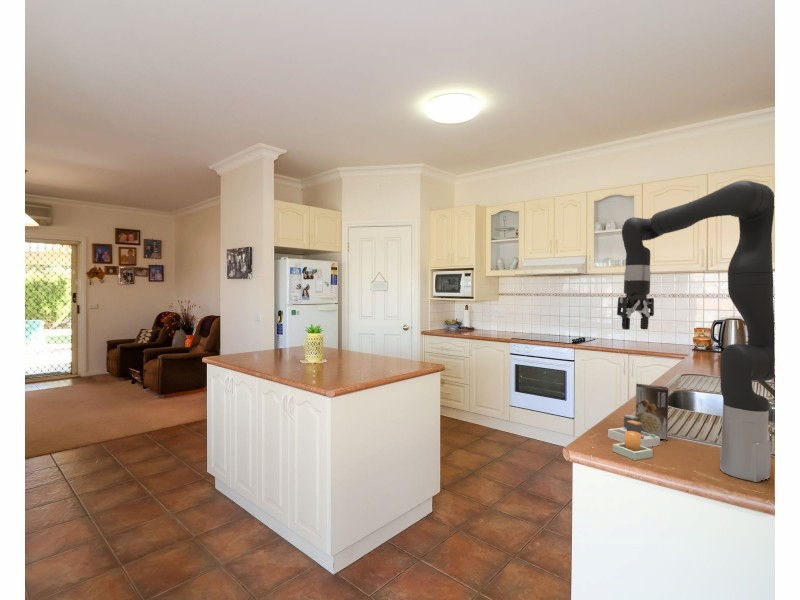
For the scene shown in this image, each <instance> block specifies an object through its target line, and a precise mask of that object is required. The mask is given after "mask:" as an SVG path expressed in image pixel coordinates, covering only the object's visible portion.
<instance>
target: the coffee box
mask: <svg viewBox="0 0 800 600" xmlns="http://www.w3.org/2000/svg"><path fill="white" fill-rule="evenodd" d="M634 411H635V412H634V413H635V414H634V416H636V417H638V422H640V423H642V424H641V431H643V432H646V433H649V434H655V436H658V437H660V439H666V440H667V441H668V427H669V425H668V424H669V422H668V421H669V388H668V386H663V385H653V384H644V383H643V384H642V383H636V386H635V410H634ZM666 440H665V441H666Z"/></svg>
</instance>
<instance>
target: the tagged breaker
mask: <svg viewBox="0 0 800 600" xmlns="http://www.w3.org/2000/svg"><path fill="white" fill-rule="evenodd" d="M641 424H642V423H640V422H637V421H634V420H630V421H627V431H635V432H638V433H640V434H641Z"/></svg>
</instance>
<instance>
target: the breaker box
mask: <svg viewBox="0 0 800 600" xmlns="http://www.w3.org/2000/svg"><path fill="white" fill-rule="evenodd" d="M625 431H627V428H624V426H623V427H616V428H609V429H607V438H608V439H611V440H613V441H614V440H615V441H617V442H619V443H625ZM657 445H659V446H661V440H660V437H658V436H655V434H649V433H646V432H643V431H641V446H644V447H646V448H651V447H652V446H653V447H658V446H657Z"/></svg>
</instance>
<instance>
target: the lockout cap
mask: <svg viewBox="0 0 800 600" xmlns="http://www.w3.org/2000/svg"><path fill="white" fill-rule="evenodd" d="M640 446H641V434H640V433H638V432H635V431H625V444H624V448H626V449H629V450H632V451H634V452H635V451H640Z"/></svg>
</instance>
